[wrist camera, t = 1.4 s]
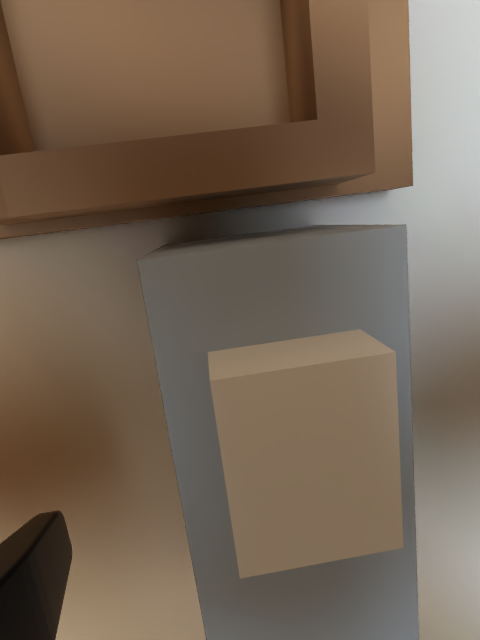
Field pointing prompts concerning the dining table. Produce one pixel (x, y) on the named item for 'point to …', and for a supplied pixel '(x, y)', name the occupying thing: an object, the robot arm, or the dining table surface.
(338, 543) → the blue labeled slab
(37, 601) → the robot arm
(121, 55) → the jig
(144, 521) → the dining table surface
